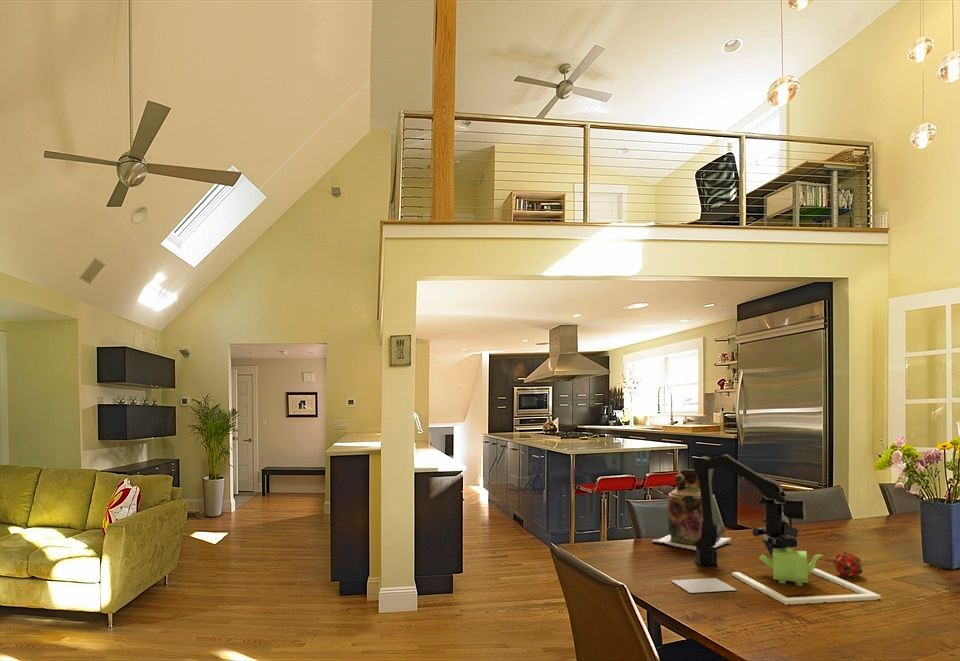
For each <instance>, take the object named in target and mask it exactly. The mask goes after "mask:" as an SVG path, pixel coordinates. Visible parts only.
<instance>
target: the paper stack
mask: <svg viewBox="0 0 960 661" xmlns="http://www.w3.org/2000/svg"><path fill="white" fill-rule="evenodd" d="M670 582H672V583H674V584H675V585H677V586H679V588H681V589H683V590H684V591H686V592H688V593H690V594H692V593H693V594H694V593H695V594H696V593H710V592H711V593H712V592H725V591H726V592H727V591H738V589H736V588H735V587H733V586H731V585H729V584H727V583H726V582H724V581H722V580H720V579H718V578H716V577H709V578H694V579H693V578H690V579H671V581H670Z"/></svg>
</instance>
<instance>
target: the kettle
mask: <svg viewBox="0 0 960 661" xmlns="http://www.w3.org/2000/svg"><path fill="white" fill-rule="evenodd" d="M823 556H824V554H815V555H813V556H812V559H811V561H810V563H808V554H807V550H800V549H799V550H797V549H794V547H793V548H785V549H777V548H773V555H772V557H773V559H772V560H771V559H770V558H769V557H767V556H766V555H765V554H763V553H762V554H761V555H760V556H759V558H758V559H759V560H760V561H762V562H763V563H764V564H766V565H767V566H769V567H770V568H771V569H772V579H773V580H777V581H778V582H779V583H778V584H780V583H783V584H782V585H786V582H794V583H795V585H796V586H798V587H803V586H804V583H805V584H809V577H808V576H809V575H808V574H809V573H811V571H813V569H815V568H816V564H817V562H818V561H817V560H818V559H819V558H821V557H823ZM772 557H771V558H772Z"/></svg>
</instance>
